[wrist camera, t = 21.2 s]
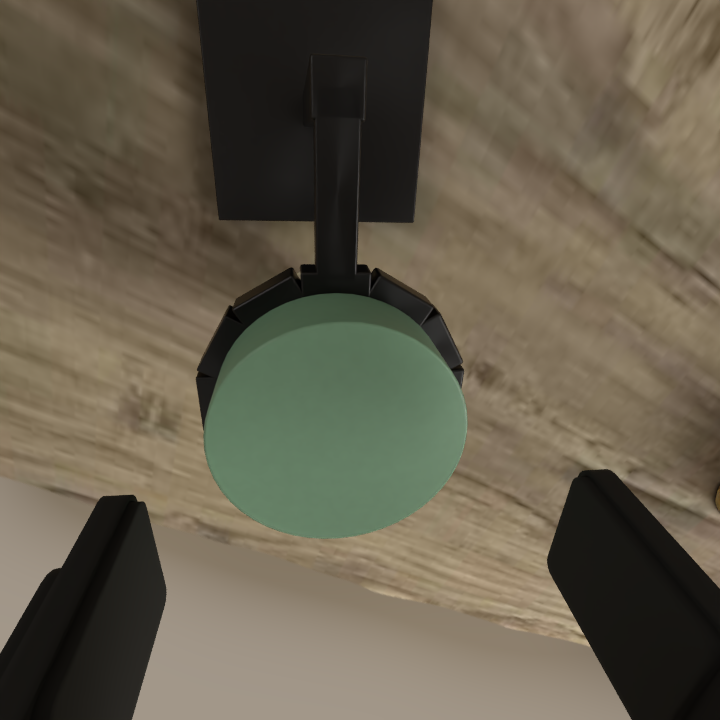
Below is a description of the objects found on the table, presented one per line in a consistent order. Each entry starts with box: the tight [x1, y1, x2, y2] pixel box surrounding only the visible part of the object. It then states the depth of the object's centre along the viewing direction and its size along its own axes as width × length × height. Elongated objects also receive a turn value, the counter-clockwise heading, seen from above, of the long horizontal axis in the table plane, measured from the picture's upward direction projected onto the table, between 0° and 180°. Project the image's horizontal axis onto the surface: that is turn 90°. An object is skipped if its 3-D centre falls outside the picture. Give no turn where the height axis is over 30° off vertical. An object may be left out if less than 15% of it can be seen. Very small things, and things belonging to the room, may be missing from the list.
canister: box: [203, 272, 467, 539], centre depth 18 cm, size 8×8×11 cm
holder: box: [196, 0, 464, 430], centre depth 18 cm, size 10×18×12 cm, turn 178°
